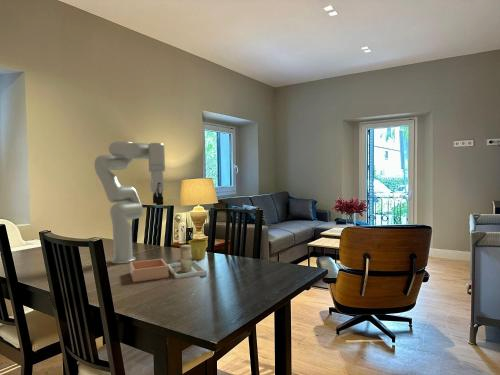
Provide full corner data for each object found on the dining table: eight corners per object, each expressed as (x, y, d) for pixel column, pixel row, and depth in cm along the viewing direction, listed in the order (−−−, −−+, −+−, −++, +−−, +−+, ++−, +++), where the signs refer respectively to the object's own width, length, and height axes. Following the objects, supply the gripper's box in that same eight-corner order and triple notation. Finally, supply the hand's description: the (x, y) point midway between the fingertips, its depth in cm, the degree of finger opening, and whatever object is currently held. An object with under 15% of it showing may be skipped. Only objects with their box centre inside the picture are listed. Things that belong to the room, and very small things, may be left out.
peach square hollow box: (130, 275, 161) (129, 262, 161) (162, 270, 167) (162, 258, 167) (133, 284, 148) (132, 270, 147) (168, 279, 154) (168, 265, 153)
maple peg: (179, 270, 165) (179, 245, 164) (190, 269, 167) (189, 244, 166) (182, 273, 160) (181, 247, 160) (192, 272, 162) (192, 246, 162)
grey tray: (167, 269, 170) (167, 264, 170) (195, 265, 176) (195, 260, 175) (175, 280, 152) (175, 275, 151) (206, 276, 157) (206, 270, 157)
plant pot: (185, 259, 188) (184, 241, 188) (196, 255, 198) (196, 238, 197) (200, 261, 184) (200, 243, 183) (211, 257, 193) (211, 239, 192)
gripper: (146, 169, 173) (147, 203, 173) (151, 168, 157) (152, 206, 158) (161, 168, 176) (162, 202, 176) (168, 168, 160) (169, 205, 161)
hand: (158, 204), depth 167 cm, fingers open, 9 cm apart
